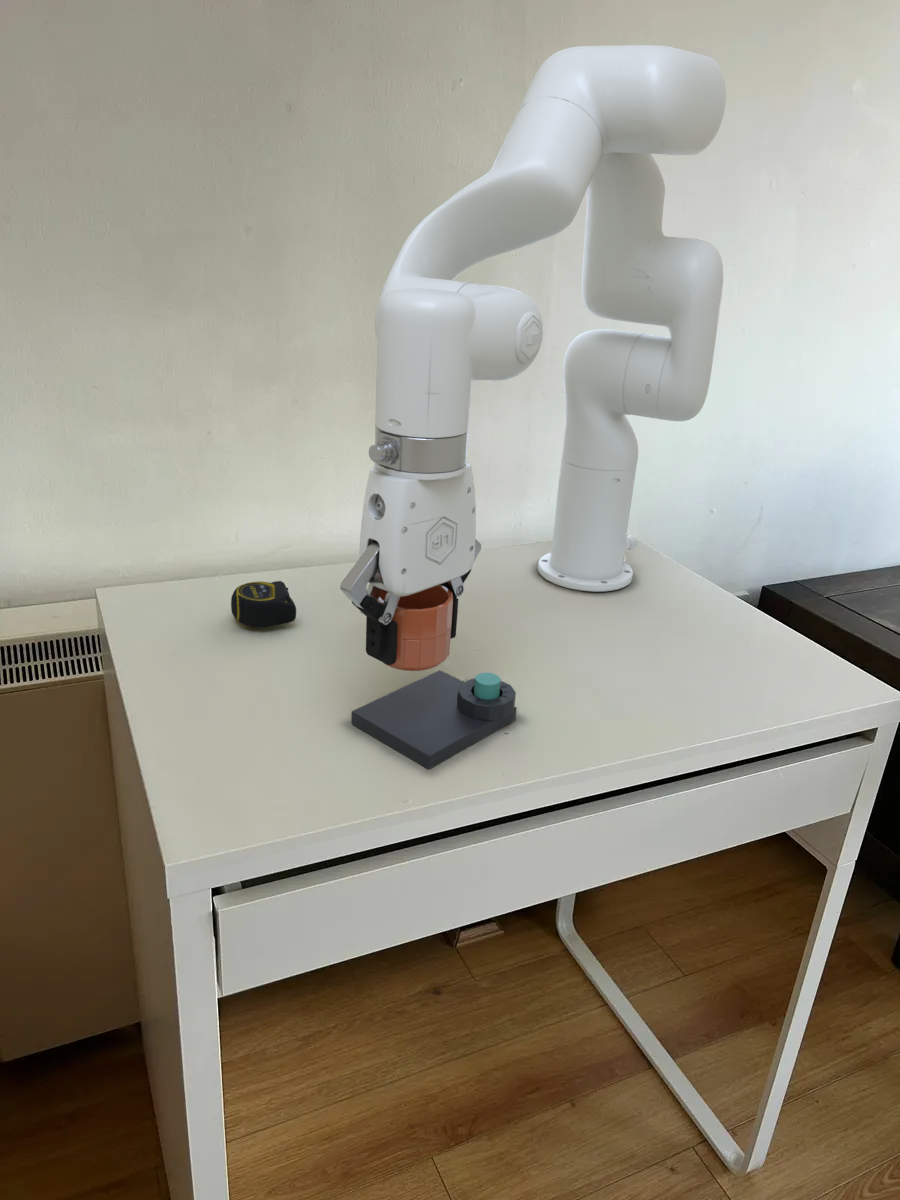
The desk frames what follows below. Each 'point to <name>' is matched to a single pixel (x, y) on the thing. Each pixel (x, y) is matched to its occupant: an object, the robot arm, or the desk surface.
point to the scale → (435, 717)
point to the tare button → (487, 686)
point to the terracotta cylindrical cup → (422, 628)
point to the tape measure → (263, 604)
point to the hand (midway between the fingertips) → (411, 644)
